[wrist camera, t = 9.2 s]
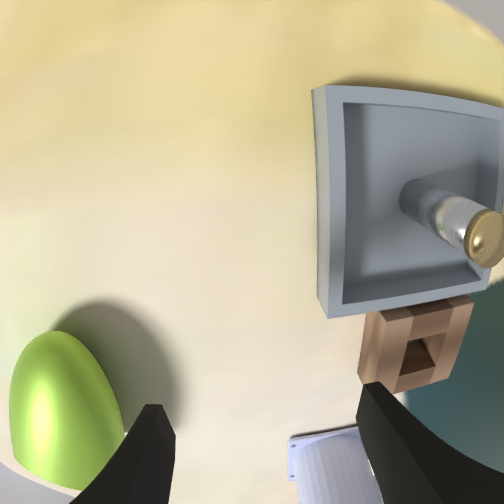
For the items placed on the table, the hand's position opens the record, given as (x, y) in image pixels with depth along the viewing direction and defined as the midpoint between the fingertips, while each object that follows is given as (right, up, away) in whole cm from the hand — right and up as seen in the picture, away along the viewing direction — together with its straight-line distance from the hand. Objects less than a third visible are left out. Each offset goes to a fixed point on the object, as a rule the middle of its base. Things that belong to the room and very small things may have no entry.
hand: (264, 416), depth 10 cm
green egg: (-16, -7, +13) cm, 22 cm away
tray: (+9, +9, +7) cm, 15 cm away
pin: (+9, +9, +6) cm, 14 cm away
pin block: (+11, 0, +11) cm, 15 cm away
